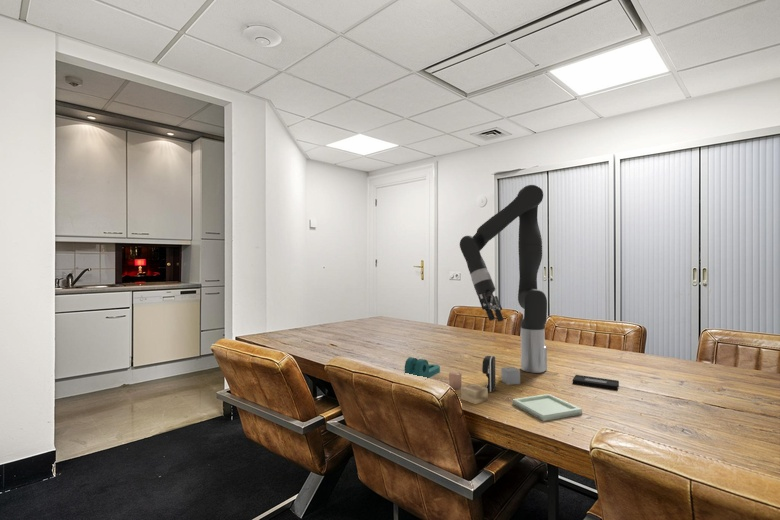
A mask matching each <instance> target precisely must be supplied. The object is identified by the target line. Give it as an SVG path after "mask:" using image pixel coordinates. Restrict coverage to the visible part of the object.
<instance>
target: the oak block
mask: <svg viewBox="0 0 780 520" xmlns="http://www.w3.org/2000/svg"><path fill="white" fill-rule="evenodd" d="M460 390H461V391H460V395H461V400H463V401H466V402H469V403H471V404H474V405H477V404H480V403H484V402H486V401H488V400H489V393H488V392H489V391H488V388H485V387H484V386H481V385H479V384H476V383H473V384H468V385H465V386H462V387H461V389H460Z"/></svg>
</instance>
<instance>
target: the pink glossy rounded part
mask: <svg viewBox="0 0 780 520" xmlns="http://www.w3.org/2000/svg"><path fill="white" fill-rule="evenodd" d="M462 375H463V374H462V373H461V372H459V371H451V372H449V373H448V386H449V385H450V386H451V387H452V388H453V389H452V390H461V387H463V386H462V385H463V384H462V381H463V380H462Z"/></svg>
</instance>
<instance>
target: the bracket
mask: <svg viewBox="0 0 780 520" xmlns="http://www.w3.org/2000/svg"><path fill="white" fill-rule="evenodd" d="M405 373H409V374H413V375H417V376H423V377H427V379H429V378H432V377H434V376H435V375H438V374H440V373H441V366H440V365H438V364H435V363H434V364H432V363H430V364H429V360H427V359H423V358H419V359H418V358H417V357H411V356H410V357H408V358H406V361H405V363H404V374H405Z"/></svg>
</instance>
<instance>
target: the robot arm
mask: <svg viewBox="0 0 780 520" xmlns="http://www.w3.org/2000/svg"><path fill="white" fill-rule="evenodd" d="M543 199H544V191H543V189H542V187H540V186H539V185H537V184H528V185H525V186H524V187H522V188H521V189H520V190H519V191H518V193H517V194H516V196H515V198H514V199H513V200H512V201H511V202H510V203H509V204H508V205H506V206H505V207H504V208H502V209H501V210H500V211H498V212H497V213H496V214H494V215H493V216H491V217H489V219H487V220H486V221H485V222H484V223H482V224H481V225H480V226H479V227H478V228H477V230H476V233H475V234H474V235H473V236H471V235H464V236H463V237H462V238H460V241H459V248H460V250H461V253H462V256H463V258H464V260H465V262H466V264H467V269H468V272H469V275H470V278H471V281H472V285H473V287H474V290H475V292H476V295H477V297H478V299H479V303H480V306H481V309H482V310H483V311H484V312H485V313H486V315H487V318H488V321H494V320H495V319H496V320H497V322H498V323H499V322H503V321H504V316H503V314H502V310H503V308H502V306H501V303H500V301H499V300H500V299H499V298H498V296H497V295H496V296H494V292H495V291H496V287H495V286H496V285H495V284H494V282H493V279H492V276H491V273H490V272H489V269H488V267H487V265H486V262H485V260H484V258H483V257H482V255H481V254H482V253H481V251H482V250H483V249H484V247H485V246H486V245H487V244H488V242H489V241H491V240H492V239H493V238H495V237H496V236H498V234H500V233H501V232H502V231H504V229H506V227H508V226H509V225H510V224H512V222H513V221H515V220H516V219H517V218H518V220H519V223H518V242H517V243H518V271H519V273H518V274H519V279H518V291H517V292H518V294H517V300H518V305H519V306H520V307H521V309H523V312H524V314H523V319H522V320H521V321H520V369H521V371H523V372H527V373H531V374H532V373H533V374H536V373H537V374H538V373H539V374H540V373H544V372H546V371H548V348H547V346H546V345H545V343H546V340H545V339H546V335H545V334H546V333H545V332H546V330H545V324H546V322H547V318H548V315H547V313H548V300H547V297H546V294H545V293H544V292H543V291H542V290H540V289H538V273H539V269H540V266H541V263H542V259H543V239H542V234H541V230H540V226H539V222H538V210H539V209H538V208H539V205H540V204H541V203H542V202H543Z"/></svg>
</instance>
